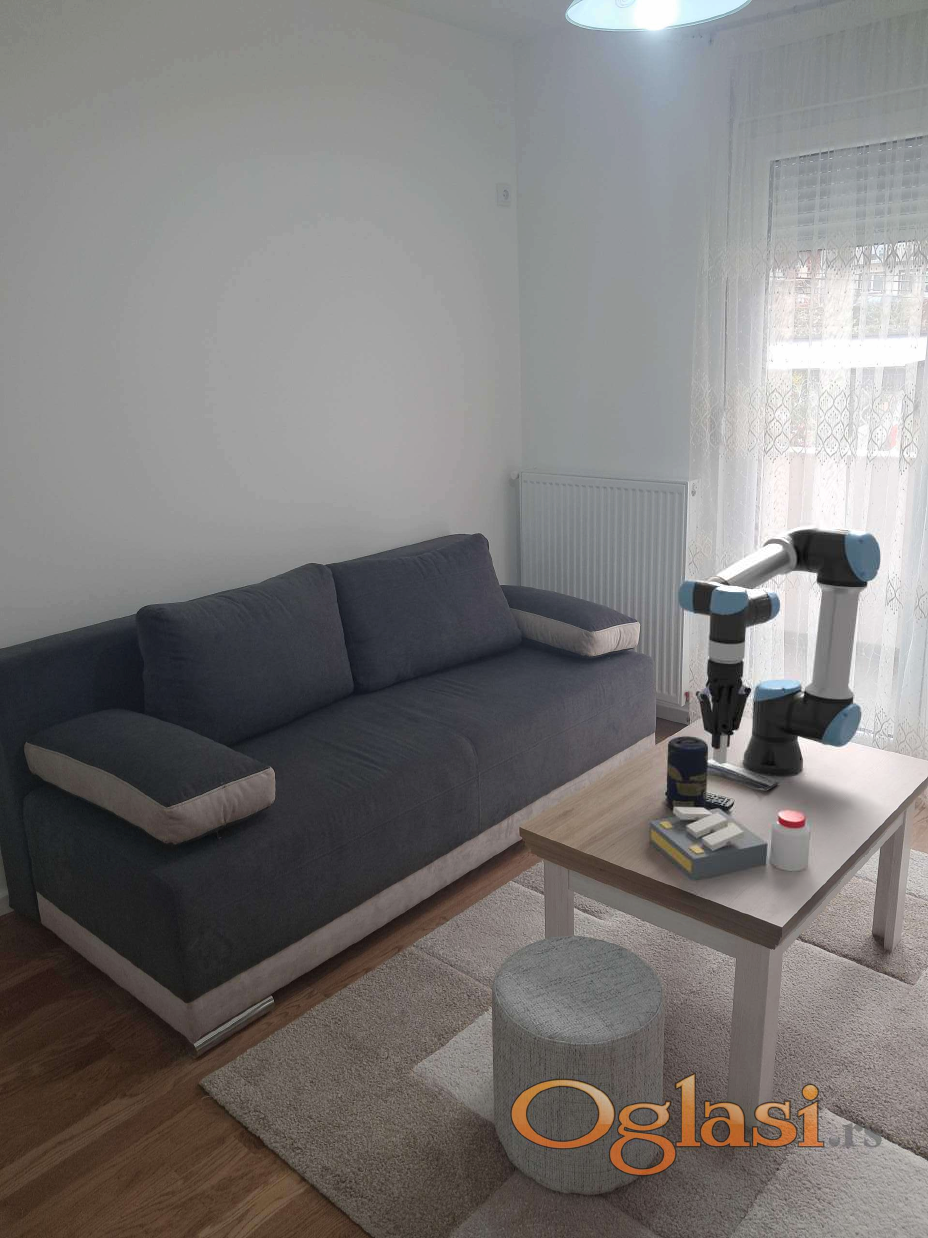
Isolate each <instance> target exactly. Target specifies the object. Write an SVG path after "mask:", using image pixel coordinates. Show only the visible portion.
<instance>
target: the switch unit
mask: <svg viewBox="0 0 928 1238" xmlns="http://www.w3.org/2000/svg"><path fill="white" fill-rule="evenodd" d="M707 810H708V811H709V812H710V813H712V814H715V813H717V812H718V813H719V814H720V815H722V816H723V817H724V818H726V819H727V822H728V825H727V826H724V827H722V828H720V829H717V830H715V832H716V831H719V830H721V829H723V828H726V827H728V826H731V825H733V824H734V825H735V826H737V827H738V828H740V829H741V830H742V831H744V838H741V839H739V840H737V841H734V842H732V843H731V845H730V846H728V845H725V846H723V847H721V848H718V849H716V850H714V851H712V850H711V849H709V848H708V847H707V846H706V845H704V844H703V841H702V837H705V836H707V835H709V834H712V833H711V832H710V833H708V834H705V835H703V836H701V837H698V838H696V837H694V836H693V835H692V834H691V833H689V832H688V831H687V826H686V825H689V824H691V823H694V822H696V821H695V820H684V819H680V818H679V817H678V816H676V815H675V816H671V817H666V818H663V819H661V818H660V819H657V820H656V819H655V820H651V821H650V822H649V843H650V844H651V845H652V846H654V848H656V849H657V850H658V851H659V852H660V853H661V854H663V856H665V857H666V858H667V859H668V860H669V861H670V862H672V863H673V864H674V865H675V866H676V867H677V868H678V869H680V870H681V871H682V872H683V873H684V874H685V875H686V876H688V877H689V878H690V879H691V880H692V881H698V880H702V879H706V878H707V879H708V878H711V877H716V876H721V875H725V874H729V873H734V872H737V871H744V870H747V869H752V868H756V867H760V866H765V865H767V860H768V859H767V857H768V845H769V843H768V842H767V841H765V840H764V839H762V838H761V837H760V836H758V835H757V834H756V833H754V832H753V831H752V830H750V829H749V828H747V827H746V826H744V825H743V824H742V823H740V822H738V821H737V820H736V819H735V818H733V817H732V816H731V815H729V814H728V813H726V812H725V811H723V810H722V809H721V808H719V807H718V808H712V809H707Z"/></svg>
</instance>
